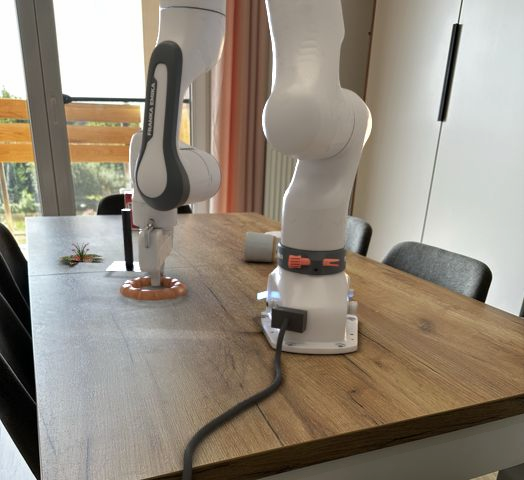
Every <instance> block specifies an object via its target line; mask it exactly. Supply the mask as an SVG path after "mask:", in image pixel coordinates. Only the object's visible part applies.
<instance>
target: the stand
mask: <svg viewBox="0 0 524 480" xmlns="http://www.w3.org/2000/svg"><path fill="white" fill-rule="evenodd" d="M121 224H122V225H121V227H122V237H123V238H122V240H123V257H124V261H118V260H117V261H116V260H114V262H112V263H111V265H109V266H108V267H107V268H106V269H105V271H108V272H135V273H136V272H138V273H142V272H141V271H140V268H139V261H135V260H134V244H133V243H134V242H133V230H132V226H131V210H129V209H125V208H123V209H121Z"/></svg>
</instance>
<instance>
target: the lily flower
mask: <svg viewBox="0 0 524 480" xmlns="http://www.w3.org/2000/svg"><path fill="white" fill-rule="evenodd" d="M76 244H77V245H76ZM76 244H74V243H71V245H72V246H74V247H75V248H76V249H74V248H72V249H71V251H72V252H74V253H75V254H70V256H67V255H66V256H61V257H60V261H59V263H62V262H67V261H68V263H69V264H70V266H72V265H75V264H78V263H79V264H80V263H90V264H91V263H92V262H95V261H97V262H98V261H105V259H104V258H103V257H104V256H102V255H99V254H95V253H93V254H92V253H87V252H88V251H90V248H86V247H87V245H88V246H89V244H90V242H88V243H86V244H85V243H84V242H83V243H82V244H81V247H82V248H80V246H79V243H78V242H76ZM85 248H86V249H85Z"/></svg>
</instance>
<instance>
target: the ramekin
mask: <svg viewBox="0 0 524 480" xmlns="http://www.w3.org/2000/svg"><path fill="white" fill-rule="evenodd" d="M264 234H270V235H273V236H276V238H277V245H276V252H277V250H278V244H279V243H280V242H281V231H280V230H279V231H278V230H277V231H275V230H274V231H266V232H264Z"/></svg>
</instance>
